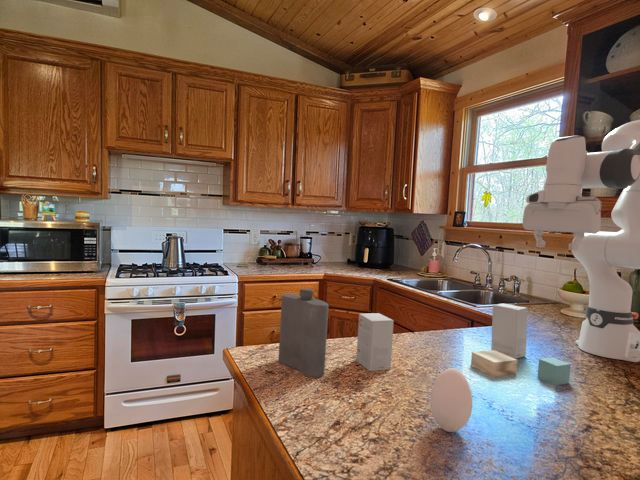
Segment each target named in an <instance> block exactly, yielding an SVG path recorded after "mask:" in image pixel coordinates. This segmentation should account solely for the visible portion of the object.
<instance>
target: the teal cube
mask: <svg viewBox="0 0 640 480" xmlns="http://www.w3.org/2000/svg"><path fill="white" fill-rule="evenodd" d="M571 365H572V364H571V363H569V362H566V361H563V360H560V359H558V358H555V357H544V358H539V359H538V366H537V367H538V368H537V378H538V379H540V380H542V381H545V382H547V383H549V384H552V385H554V386H559V385H565V384H570V375H571V373H570V372H571Z"/></svg>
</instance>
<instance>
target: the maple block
mask: <svg viewBox="0 0 640 480" xmlns="http://www.w3.org/2000/svg"><path fill="white" fill-rule="evenodd" d="M470 366H471V367H473V368H476V369H477V370H479V371H482V372H484V373H485V374H487V375H488V376H491V377H493V378H494V377H501V376H502V377H503V376H509V375H510V376H511V375H517V372H518V359H517V358H516V359H515V358H512V357H509V356H507V355H505V354H502V353H500V352H498V351H495V350H491V349H490V350H481V351H472V352H471V357H470Z"/></svg>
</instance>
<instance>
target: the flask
mask: <svg viewBox="0 0 640 480" xmlns="http://www.w3.org/2000/svg"><path fill="white" fill-rule="evenodd" d="M314 293H315V290H313V289H312V288H309V287H308V288H307V287H306V288H301V289H300V290H299V294H295V293H286V294H283V295H282V296H281V307H280V308H281V309H280V323H279V345H278V347H279V348H278V358H277V359H278V362H279V364H281V365H284V366H287V367H289V368H292V369H295V370H297V371H298V372H301V374H303V375H305V376H306V377H308V378H311V379H319V378H323V376H324V375H325V371H326V370H325V367H326V352H327V351H326V350H327V337H328V321H329V304H328V303H327V302H326V301H324V300H320V299H318V298H314V296H315V294H314Z"/></svg>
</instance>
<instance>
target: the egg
mask: <svg viewBox="0 0 640 480" xmlns="http://www.w3.org/2000/svg"><path fill="white" fill-rule="evenodd" d="M429 402H430V403H429V404H430V410H431V414H432V416H433V420H435V422H436V423H437V425H438V426H439V427H440V428H441V429H442V430H444V431H445V432H449V433H455V432H458V431H459V430H461V429H463V428H464V427H465V426H466V425H467V423H468V422H469V420H470V418H471V416H472V411H473V394H472V390H471V387H470V384H469V381H468V379H467V377H466V375H464V374H463V372H462V371H460V370H459V369H457V368H454V367H449V368H447V369H444V370H443V371H441V373H440V374H439V375H438V377H437V378H436V379H435V381H434V383H433V386H432V388H431V394H430V401H429Z"/></svg>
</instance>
